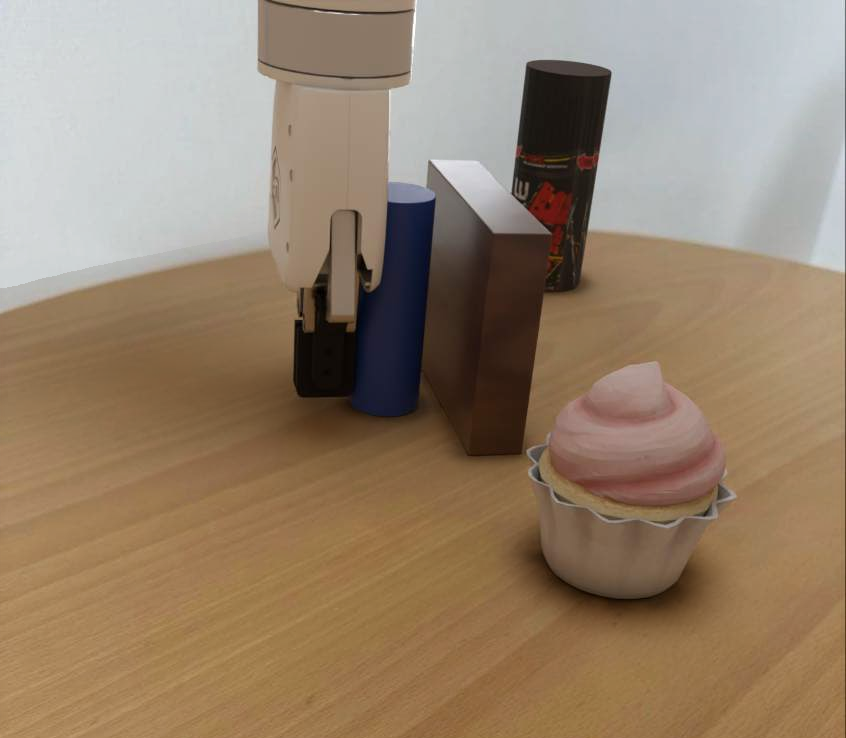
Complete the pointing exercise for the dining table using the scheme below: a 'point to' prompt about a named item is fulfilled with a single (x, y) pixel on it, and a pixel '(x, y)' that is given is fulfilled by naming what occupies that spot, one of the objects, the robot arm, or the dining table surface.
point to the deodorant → (561, 157)
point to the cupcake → (627, 485)
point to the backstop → (483, 305)
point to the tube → (396, 308)
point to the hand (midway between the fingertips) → (322, 390)
